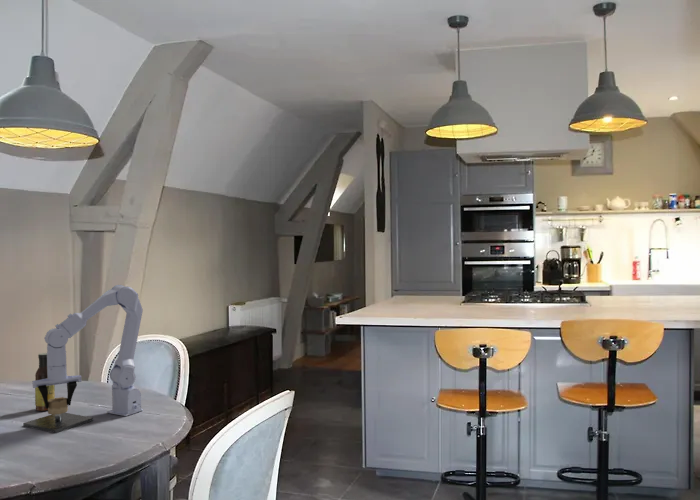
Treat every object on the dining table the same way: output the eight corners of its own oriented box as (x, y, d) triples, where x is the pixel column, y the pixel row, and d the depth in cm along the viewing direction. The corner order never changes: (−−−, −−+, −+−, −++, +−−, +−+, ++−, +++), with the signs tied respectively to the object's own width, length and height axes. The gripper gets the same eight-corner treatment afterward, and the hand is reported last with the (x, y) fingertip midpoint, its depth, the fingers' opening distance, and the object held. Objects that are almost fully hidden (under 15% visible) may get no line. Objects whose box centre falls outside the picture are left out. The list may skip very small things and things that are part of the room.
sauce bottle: (47, 412, 221) (45, 355, 220) (31, 411, 222) (29, 355, 221) (59, 407, 227) (57, 352, 226) (44, 406, 228) (42, 351, 228)
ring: (71, 410, 209) (70, 398, 209) (55, 415, 204) (55, 403, 204) (60, 408, 211) (59, 396, 211) (45, 413, 207) (44, 400, 206)
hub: (92, 420, 210) (92, 404, 210) (55, 432, 198) (55, 415, 197) (61, 414, 217) (60, 399, 217) (23, 426, 205) (22, 409, 205)
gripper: (78, 360, 214) (79, 400, 214) (31, 365, 206) (32, 406, 207) (82, 364, 208) (83, 404, 209) (33, 369, 200) (34, 412, 201)
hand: (58, 406), depth 207 cm, fingers closed on ring, 6 cm apart
